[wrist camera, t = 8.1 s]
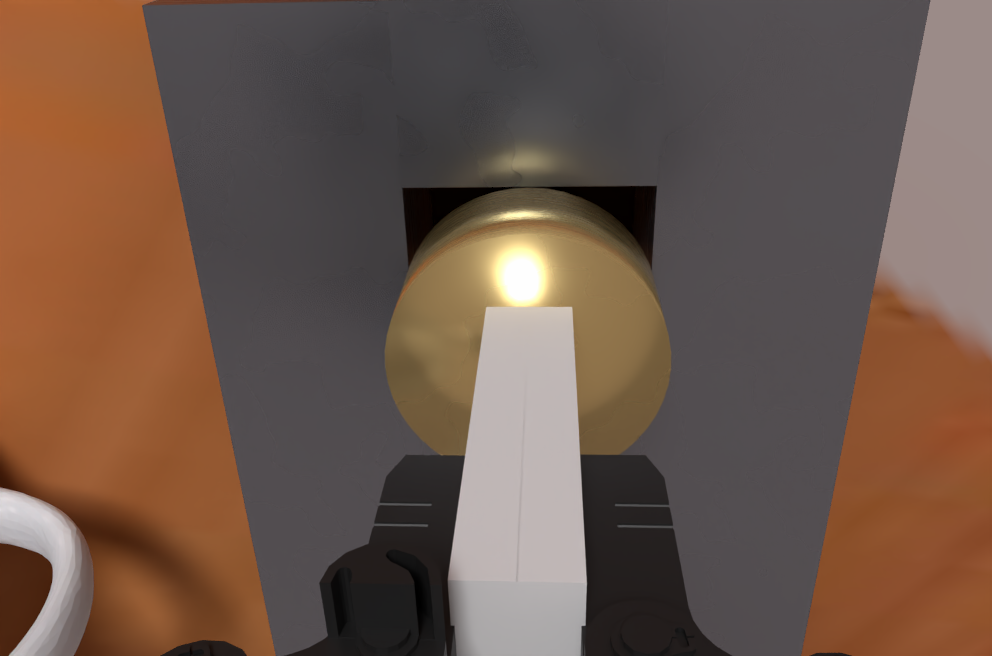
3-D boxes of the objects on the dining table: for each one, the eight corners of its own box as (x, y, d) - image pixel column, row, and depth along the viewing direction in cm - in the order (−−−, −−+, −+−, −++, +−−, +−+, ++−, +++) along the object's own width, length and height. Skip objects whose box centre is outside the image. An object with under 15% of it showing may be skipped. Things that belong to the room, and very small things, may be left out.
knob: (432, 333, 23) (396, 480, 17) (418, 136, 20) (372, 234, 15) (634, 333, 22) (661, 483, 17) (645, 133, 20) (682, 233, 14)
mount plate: (343, 745, 32) (317, 856, 28) (215, -21, 19) (142, 5, 16) (733, 757, 31) (757, 873, 27) (858, -35, 18) (932, -12, 15)
